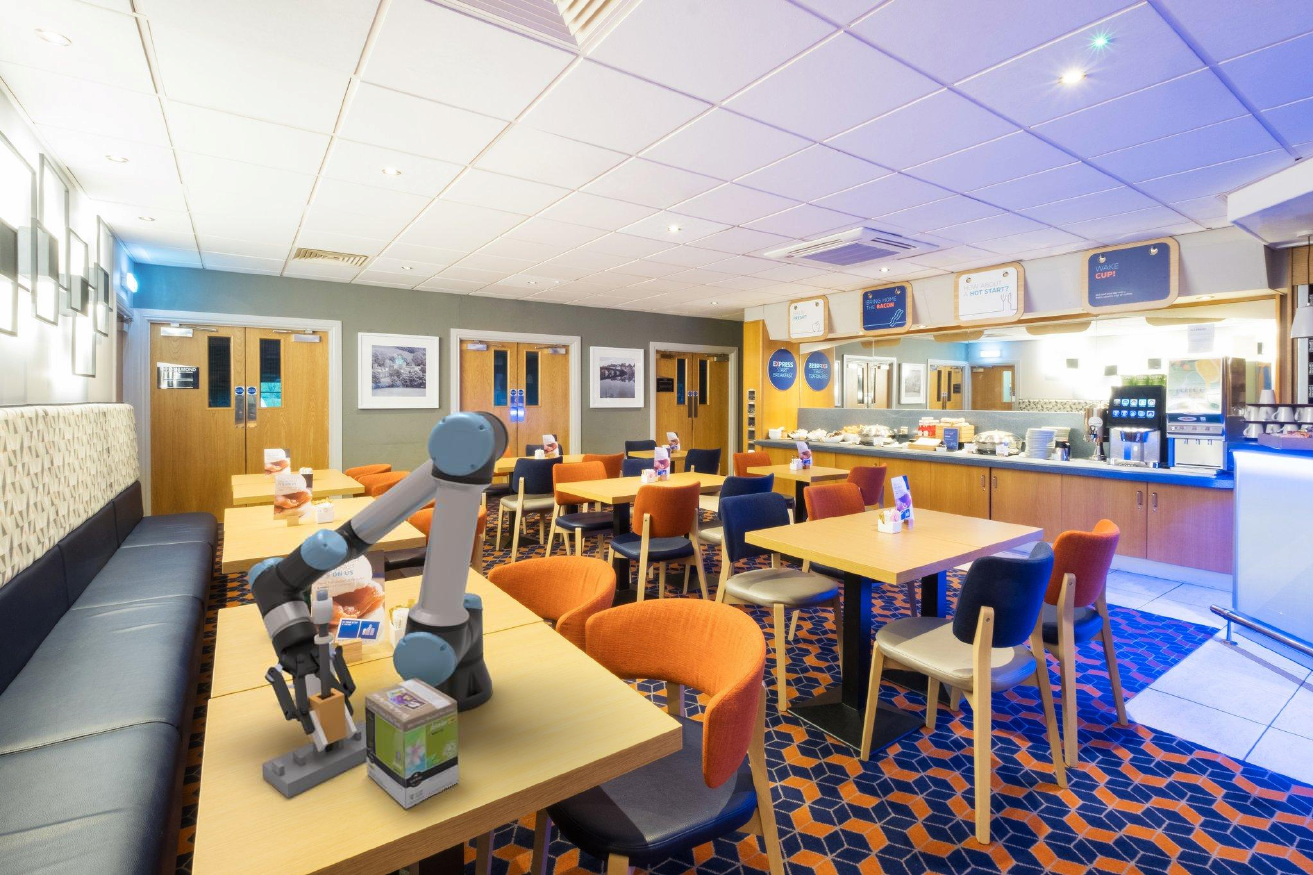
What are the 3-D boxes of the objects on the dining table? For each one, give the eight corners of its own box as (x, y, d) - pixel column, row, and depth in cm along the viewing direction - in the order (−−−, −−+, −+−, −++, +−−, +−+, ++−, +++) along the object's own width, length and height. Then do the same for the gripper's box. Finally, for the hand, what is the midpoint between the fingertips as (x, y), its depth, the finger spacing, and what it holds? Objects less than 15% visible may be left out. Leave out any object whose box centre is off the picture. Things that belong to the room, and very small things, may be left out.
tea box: (461, 782, 106) (459, 699, 105) (404, 812, 98) (401, 722, 98) (419, 750, 116) (416, 674, 115) (365, 774, 108) (362, 693, 108)
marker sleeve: (334, 729, 115) (332, 687, 114) (345, 736, 112) (344, 694, 112) (309, 739, 111) (307, 696, 111) (321, 747, 109) (319, 703, 108)
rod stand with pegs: (362, 732, 122) (357, 575, 120) (390, 749, 116) (384, 583, 115) (262, 777, 108) (254, 599, 106) (288, 798, 102) (279, 610, 100)
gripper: (332, 628, 127) (377, 729, 118) (236, 656, 113) (279, 774, 104) (344, 607, 124) (391, 710, 115) (246, 634, 110) (291, 754, 101)
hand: (337, 740), depth 110 cm, fingers closed on marker sleeve, 4 cm apart
